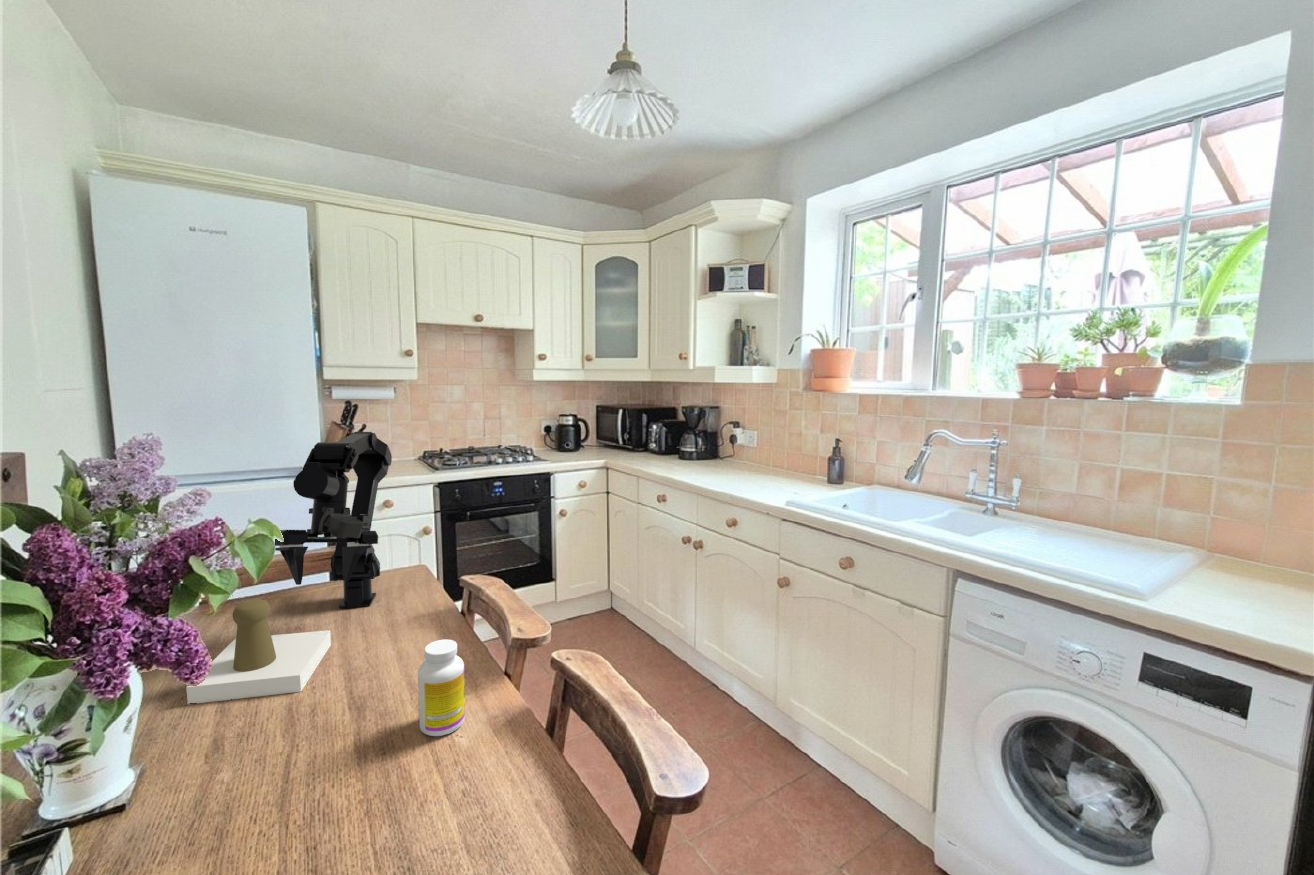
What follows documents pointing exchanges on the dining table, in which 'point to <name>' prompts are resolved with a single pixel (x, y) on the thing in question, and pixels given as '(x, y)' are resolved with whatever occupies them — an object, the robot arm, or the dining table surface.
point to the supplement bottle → (441, 689)
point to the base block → (264, 670)
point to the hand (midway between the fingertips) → (323, 582)
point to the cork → (253, 636)
